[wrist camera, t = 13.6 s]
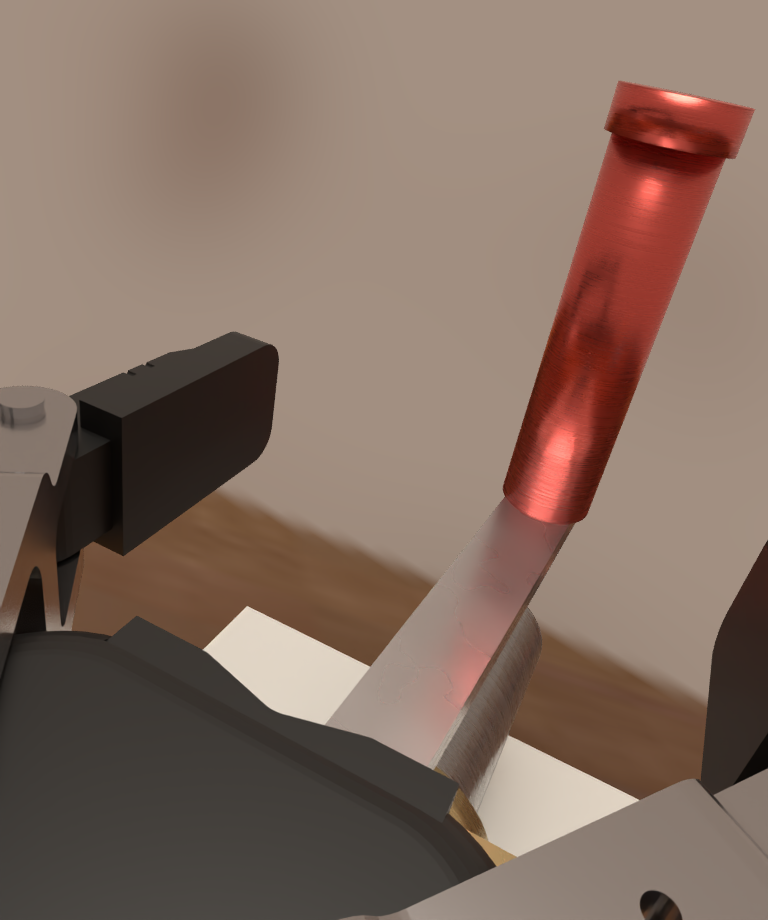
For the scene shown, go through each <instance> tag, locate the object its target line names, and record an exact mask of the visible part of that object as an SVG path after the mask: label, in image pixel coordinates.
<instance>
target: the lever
mask: <svg viewBox="0 0 768 920" xmlns="http://www.w3.org/2000/svg"><path fill="white" fill-rule="evenodd" d="M754 111H755V109H753V108H749V107H745V106H741V105H737V104H732V103H728V102H723V101H719V100H714V99H710V98H705V97H700V96H695V95H691V94H686V93H681V92H676V91H672V90H667V89H662V88H657V87H651V86H646V85H641V84H636V83H630V82H625V81H618V84H617V87H616V91H615V94H614V97H613V101H612V104H611V107H610V111H609V114H608V117H607V120H606V124H605V127H604V129H605V130H607V131H609V132H612V134H611V137H610V141H609V144H608V147H607V150H606V154H605V157H604V160H603V163H602V166H601V170H600V173H599V176H598V179H597V183H596V186H595V189H594V192H593V196H592V199H591V202H590V205H589V209H588V212H587V215H586V218H585V222H584V225H583V228H582V231H581V234H580V238H579V241H578V245H577V247H576V251H575V254H574V257H573V260H572V264H571V267H570V270H569V273H568V277H567V280H566V283H565V287H564V290H563V293H562V296H561V300H560V303H559V306H558V309H557V312H556V316H555V319H554V322H553V326H552V329H551V332H550V335H549V339H548V341H547V345H546V348H545V351H544V354H543V358H542V361H541V364H540V367H539V371H538V374H537V377H536V380H535V384H534V387H533V390H532V393H531V397H530V400H529V403H528V406H527V410H526V413H525V416H524V419H523V423H522V426H521V429H520V432H519V436H518V439H517V442H516V445H515V448H514V452H513V455H512V458H511V462H510V465H509V468H508V472H507V475H506V478H505V481H504V484H503V492H504V495H505V497H504V499H503V500H502V501H501V502H500V504H499V505H498V506H497V507H496V509H495V510H494V511H493V513H492V514H491V515H490V516H489V518H488V519H487V520H486V521H485V523H484V524H483V525H482V526H481V528H480V529H479V530H478V531H477V533H476V534H475V535H474V537H473V538H472V539H471V541H470V542H469V543H468V544H467V545H466V547H465V548H464V549H463V550H462V552H461V553H460V555H459V556H458V557H457V558H456V560H455V561H454V562H453V563H452V564H451V566H450V567H449V568H448V569H447V571H446V572H445V573H444V574H443V576H442V577H441V578H440V580H439V581H438V582H437V583H436V585H435V586H434V587H433V588H432V590H431V591H430V592H429V593H428V595H427V596H426V597H425V599H424V600H423V601H422V602H421V604H420V605H419V606H418V607H417V609H416V610H415V611H414V612H413V614H412V615H411V616H410V618H409V619H408V620H407V621H406V623H405V624H404V625H403V626H402V628H401V629H400V630H399V631H398V633H397V634H396V635H395V636H394V638H393V639H392V640H391V642H390V643H389V644H388V645H387V647H386V648H385V649H384V650H383V652H382V653H381V654H380V655H379V657H378V658H377V659H376V661H375V662H374V663H373V664H372V666H371V667H370V668H369V669H368V671H367V672H366V673H365V674H364V676H363V677H362V678H361V680H360V681H359V682H358V683H357V685H356V686H355V687H354V688H353V690H352V691H351V692H350V693H349V695H348V696H347V697H346V698H345V700H344V701H343V702H342V704H341V705H340V706H339V707H338V709H337V710H336V711H335V712H334V714H333V715H332V716H331V717H330V719H329V720H328V721H327V723H326V724H325V725H326V726H329V727H333V728H337V729H341V730H344V731H348V732H352V733H355V734H359V735H363V736H367V737H370V738H373V739H375V740H377V741H378V742H380V743H382V744H384V745H386V746H388V747H390V748H392V749H394V750H396V751H398V752H400V753H402V754H403V755H405V756H407V757H409V758H411V759H413V760H415V761H417V762H419V763H421V764H423V765H425V766H427V767H428V768H430V769H432V770H434V769H435V767H436V765H437V764H438V762H439V760H440V758H441V757H442V755H443V753H444V751H445V750H446V748H447V746H448V744H449V743H450V741H451V739H452V737H453V736H454V734H455V732H456V730H457V729H458V727H459V725H460V723H461V722H462V720H463V718H464V717H465V715H466V713H467V711H468V710H469V708H470V706H471V704H472V703H473V701H474V699H475V697H476V696H477V694H478V692H479V690H480V689H481V687H482V685H483V683H484V682H485V680H486V678H487V676H488V675H489V673H490V671H491V669H492V668H493V666H494V664H495V662H496V661H497V659H498V657H499V655H500V654H501V652H502V650H503V649H504V647H505V645H506V643H507V642H508V640H509V638H510V636H511V635H512V633H513V631H514V629H515V628H516V626H517V624H518V622H519V621H520V619H521V617H522V615H523V614H524V612H525V610H526V608H527V607H528V605H529V603H530V601H531V599H532V598H533V596H534V594H535V593H536V591H537V589H538V587H539V586H540V584H541V582H542V581H543V579H544V577H545V575H546V574H547V572H548V570H549V568H550V567H551V565H552V563H553V561H554V560H555V558H556V556H557V554H558V553H559V551H560V549H561V547H562V545H563V544H564V542H565V540H566V538H567V537H568V535H569V533H570V532H571V530H572V528H573V526H574V525H575V523H576V522H579V521H581V520H583V519H584V518H585V517H586V516H587V514H588V511H589V508H590V506H591V503H592V501H593V498H594V495H595V493H596V490H597V488H598V485H599V482H600V480H601V478H602V475H603V472H604V470H605V467H606V464H607V462H608V460H609V457H610V454H611V452H612V449H613V446H614V444H615V441H616V439H617V436H618V434H619V431H620V429H621V426H622V424H623V421H624V418H625V416H626V413H627V411H628V408H629V405H630V403H631V400H632V398H633V395H634V393H635V390H636V388H637V385H638V382H639V380H640V377H641V374H642V372H643V369H644V367H645V364H646V362H647V359H648V357H649V354H650V352H651V349H652V346H653V344H654V341H655V339H656V336H657V333H658V331H659V328H660V325H661V323H662V321H663V318H664V315H665V313H666V310H667V308H668V305H669V303H670V300H671V298H672V295H673V292H674V290H675V287H676V285H677V282H678V280H679V277H680V274H681V272H682V269H683V266H684V264H685V261H686V259H687V256H688V254H689V251H690V249H691V246H692V244H693V241H694V238H695V236H696V233H697V231H698V228H699V225H700V223H701V220H702V218H703V215H704V213H705V210H706V207H707V205H708V202H709V200H710V197H711V195H712V192H713V190H714V187H715V184H716V182H717V179H718V177H719V174H720V171H721V169H722V166H723V164H724V161H725V159H726V158H728V159H735V158H736V156H737V154H738V151H739V148H740V146H741V143H742V141H743V138H744V136H745V133H746V131H747V128H748V125H749V123H750V121H751V118H752V115H753V113H754Z"/></svg>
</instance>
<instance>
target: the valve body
mask: <svg viewBox="0 0 768 920" xmlns="http://www.w3.org/2000/svg"><path fill="white" fill-rule="evenodd" d="M541 649H542V637H541V632H540V629H539V626H538V623H537V621H536V619H535V617H534V615H533V614H532V612H531V611H530V610H529V608H528V607H527V608H526V610H525V612H524V614H523V615H522V617H521V619H520V621H519V622H518V624H517V626H516V628H515V629H514V631H513V633H512V635H511V636H510V638H509V640H508V642H507V643H506V645H505V647H504V649H503V650H502V652H501V654H500V655H499V657H498V659H497V661H496V662H495V664H494V666H493V668H492V669H491V671H490V673H489V675H488V676H487V678H486V680H485V682H484V683H483V685H482V687H481V689H480V690H479V692H478V694H477V696H476V697H475V699H474V701H473V703H472V704H471V706H470V708H469V710H468V711H467V713H466V715H465V717H464V718H463V720H462V722H461V723H460V725H459V727H458V729H457V730H456V732H455V734H454V736H453V737H452V739H451V741H450V743H449V744H448V746H447V748H446V750H445V751H444V753H443V755H442V757H441V758H440V760H439V762H438V764H437V765H436V767H435V769H434V771H436V772H438V773H440V774H442V775H444V776H446V777H448V778H450V779H452V780H453V781H455V782H457V783H459V784H460V785H459V787H458V790H457V793H456V796H455V798H454V801H453V804H452V807H451V809H450V812H449V814H450V815H451V816H452V817H453V818H454V819H455V820H456V821H458V822H459V823H460V824H461V825H462V826H463V827H464V828H465V829H466V830H467V831H468V832H469V833H470V834H471V835H472V836H473V837H474V839H475V840H476V841H477V842H478V843H479V844H480V845H481V846H482V847H483V849H484V850H485V851H486V853H487V854H488V855H489V857H490V858H491V859H492V861H493V862H494V864H495V865H496V866H499V865H501V864H503V863H505V862H508V861H510V860H512V859H514V858H516V856H514V855H513V854H511V853H509V852H507V851H505V850H503V849H502V848H500V847H498V846H496V845H494V844H492V843H490V842H489V841H488V838H487V834H486V831H485V829H484V826H483V824H482V822H481V820H480V818H479V816H478V814H477V812H478V810H479V807H480V805H481V802H482V800H483V797H484V795H485V793H486V790H487V788H488V785H489V783H490V780H491V778H492V775H493V773H494V770H495V767H496V765H497V762H498V760H499V757H500V755H501V752H502V750H503V747H504V745H505V742H506V740H507V737H508V735H509V732H510V729H511V726H512V724H513V721H514V719H515V716H516V714H517V711H518V709H519V706H520V704H521V702H522V699H523V697H524V694H525V692H526V689H527V687H528V684H529V682H530V679H531V677H532V674H533V672H534V670H535V667H536V665H537V662H538V660H539V657H540V654H541Z"/></svg>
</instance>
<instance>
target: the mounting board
mask: <svg viewBox="0 0 768 920" xmlns="http://www.w3.org/2000/svg"><path fill="white" fill-rule="evenodd" d="M203 650H204V651H205V652H207V653H209V654H210V655H211V656H212V657H213V658H214V659H215V660H216V661H218V662H219V663H220V664H221V665H222V666H223V667H224V668H225V669H226V670H227V671H229V672H230V673H231V674H232V675H233V676H234V677H235V678H236V679H237V680H239V681H240V682H241V683H242V684H243V685H244V686H245V687H246V688H247V689H249V690H250V691H251V692H252V693H253V694H254V695H255V696H256V697H257V698H259V699H260V700H261V701H262V702H263V703H264V704H265V705H266V706H268V707H269V708H270V709H272V710H274V711H276V712H279V713H282V714H285V715H289V716H292V717H296V718H300V719H303V720H307V721H311V722H315V723H318V724H322V725H325V724H326V723H327V721H328V720H329V719H330V717H331V716H332V715H333V714H334V712H335V711H336V710H337V709H338V707H339V706H340V705H341V704H342V702H343V701H344V700H345V698H346V697H347V696H348V695H349V693H350V692H351V691H352V690H353V688H354V687H355V686H356V685H357V683H358V682H359V681H360V680H361V678H362V677H363V676H364V674H365V673H366V672H367V671H368V669H369V668H370V667H369V666H367V665H365V664H363V663H361V662H359V661H357V660H355V659H353V658H351V657H349V656H347V655H345V654H343V653H341V652H339V651H337V650H335V649H333V648H331V647H329V646H327V645H325V644H323V643H321V642H319V641H317V640H315V639H313V638H310V637H308V636H306V635H304V634H302V633H300V632H298V631H296V630H294V629H292V628H290V627H288V626H286V625H284V624H282V623H280V622H278V621H276V620H274V619H272V618H270V617H268V616H266V615H264V614H262V613H260V612H258V611H256V610H254V609H252V608H250V607H248V606H247V607H246V608H245V609H244V610H243V611H242V612H241V613H240V614H239V615H238V616H237V617H236V618H235V619H234V620H233V621H232V622H231V623H230V624H229V625H228V626H227V627H226V628H225V629H224V630H223V631H222V632H221V633H220V634H219V635H218V636H217V637H215V638H214V639H213V640H212V641H211V642H210V643H209V644H208V645H207V646H206V647H205V648H204V649H203ZM637 801H639V800H638V799H636V798H634V797H632V796H630V795H628V794H626V793H624V792H622V791H620V790H618V789H616V788H614V787H612V786H610V785H608V784H606V783H604V782H602V781H600V780H598V779H596V778H594V777H592V776H590V775H588V774H586V773H584V772H581V771H579V770H577V769H575V768H573V767H571V766H569V765H567V764H565V763H563V762H561V761H559V760H557V759H555V758H553V757H551V756H549V755H547V754H545V753H543V752H541V751H539V750H537V749H535V748H533V747H531V746H529V745H527V744H525V743H523V742H521V741H519V740H517V739H515V738H513V737H511V736H509V735H508V737H507V740H506V742H505V745H504V747H503V750H502V752H501V755H500V757H499V760H498V762H497V765H496V767H495V770H494V773H493V775H492V778H491V780H490V783H489V785H488V788H487V790H486V793H485V795H484V797H483V800H482V802H481V805H480V807H479V810H478V812H477V814H478V816H479V818H480V820H481V822H482V824H483V826H484V829H485V831H486V834H487V838H488V841H489V842H490V843H492V844H494V845H496V846H498V847H500V848H502V849H503V850H505V851H507V852H509V853H511V854H513V855H514V856H516V857H518V856H521V855H523V854H525V853H527V852H529V851H531V850H534V849H536V848H538V847H540V846H542V845H544V844H547V843H549V842H551V841H553V840H555V839H557V838H559V837H562V836H564V835H566V834H568V833H570V832H572V831H575V830H577V829H579V828H581V827H583V826H585V825H588V824H590V823H592V822H594V821H596V820H598V819H601V818H603V817H605V816H607V815H609V814H611V813H613V812H616V811H618V810H620V809H622V808H624V807H626V806H629V805H631V804H633V803H635V802H637Z"/></svg>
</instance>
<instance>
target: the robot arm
mask: <svg viewBox="0 0 768 920" xmlns="http://www.w3.org/2000/svg"><path fill="white" fill-rule="evenodd" d="M278 364H279V357H278V352H277V349H276V348H275V347H274V346H273V345H271V344H268V343H265V342H262V341H260V340H257V339H254V338H251V337H249V336H246V335H243V334H240V333H238V332H230V333H228V334H225V335H223V336H221V337H219V338H217V339H214V340H212V341H210V342H207V343H205V344H203V345H201V346H198V347H196V348H194V349H188V350H182V351H176V352H170V353H167V354H165V355H163V356H161V357H158V358H156V359H154V360H151V361H149V362H147V363H146V365H145V366H144V365H140V366H138V367H135V368H133V369H130V370H128V373H127V374H126V373H121V374H119V375H117V376H114V377H112V378H110V379H107V380H105V381H103V382H101V383H98V384H96V385H94V386H91V387H89V388H87V389H85V390H82V391H80V392H78V393H75V394H73V395H71V396H67V395H66V394H64V393H62V392H59V391H56V390H53V389H49V388H44V387H34V386H12V387H4V388H0V920H768V541H767V542H766V544H765V546H764V547H763V549H762V551H761V553H760V554H759V556H758V558H757V560H756V562H755V563H754V565H753V567H752V569H751V571H750V573H749V574H748V576H747V578H746V580H745V581H744V583H743V585H742V587H741V589H740V591H739V592H738V594H737V596H736V598H735V599H734V601H733V603H732V605H731V607H730V608H729V610H728V612H727V614H726V616H725V618H724V620H723V622H722V625H721V627H720V630H719V632H718V635H717V638H716V641H715V645H714V650H713V654H712V665H711V675H710V686H709V697H708V707H707V718H706V729H705V740H704V751H703V762H702V772H701V781H700V780H698V779H688V780H684V781H681V782H679V783H676V784H674V785H672V786H670V787H668V788H665V789H663V790H661V791H659V792H657V793H655V794H652V795H650V796H648V797H646V798H644V799H642V800H639V801H637V802H635V803H633V804H631V805H629V806H626V807H624V808H622V809H620V810H618V811H616V812H613V813H611V814H609V815H607V816H605V817H603V818H601V819H598V820H596V821H594V822H592V823H590V824H588V825H585V826H583V827H581V828H579V829H577V830H575V831H572V832H570V833H568V834H566V835H564V836H562V837H559V838H557V839H555V840H553V841H551V842H549V843H547V844H544V845H542V846H540V847H538V848H536V849H534V850H531V851H529V852H527V853H525V854H523V855H521V856H518V857H516V858H514V859H512V860H510V861H508V862H505V863H503V864H501V865H499V866H496V865H495V864H494V862H493V861H492V859H491V858H490V857H489V855H488V854H487V853H486V851H485V850H484V849H483V847H482V846H481V845H480V844H479V843H478V842H477V841H476V840H475V839H474V837H473V836H472V835H471V834H470V833H469V832H468V831H467V830H466V829H465V828H464V827H463V826H462V825H461V824H460V823H459V822H458V821H456V820H455V819H454V818H453V817H452V816H451V815H450V814H449V812H450V809H451V807H452V804H453V801H454V798H455V796H456V793H457V790H458V787H459V785H460V784H459V783H457V782H455V781H453V780H452V779H450V778H448V777H446V776H444V775H442V774H440V773H438V772H436V771H434V770H432V769H430V768H428V767H427V766H425V765H423V764H421V763H419V762H417V761H415V760H413V759H411V758H409V757H407V756H405V755H403V754H402V753H400V752H398V751H396V750H394V749H392V748H390V747H388V746H386V745H384V744H382V743H380V742H378V741H377V740H375V739H373V738H370V737H367V736H363V735H359V734H355V733H352V732H348V731H344V730H341V729H337V728H333V727H329V726H326V725H322V724H318V723H315V722H311V721H307V720H303V719H300V718H296V717H292V716H289V715H285V714H282V713H279V712H276V711H274V710H272V709H270V708H269V707H268V706H266V705H265V704H264V703H263V702H262V701H261V700H260V699H259V698H257V697H256V696H255V695H254V694H253V693H252V692H251V691H250V690H249V689H247V688H246V687H245V686H244V685H243V684H242V683H241V682H240V681H239V680H237V679H236V678H235V677H234V676H233V675H232V674H231V673H230V672H229V671H227V670H226V669H225V668H224V667H223V666H222V665H221V664H220V663H219V662H218V661H216V660H215V659H214V658H213V657H212V656H211V655H210V654H209V653H207V652H205V651H204V650H202V649H200V648H198V647H196V646H194V645H192V644H190V643H188V642H186V641H184V640H182V639H180V638H179V637H177V636H175V635H173V634H171V633H169V632H167V631H165V630H163V629H161V628H159V627H157V626H155V625H154V624H152V623H150V622H148V621H146V620H144V619H142V618H140V617H138V616H136V617H135V618H134V619H132V620H131V621H130V622H129V623H128V624H126V625H125V626H124V627H123V628H122V629H120V630H119V631H118V632H117V633H116V634H114V635H113V636H108V635H104V634H97V633H90V632H82V631H71V628H72V623H73V618H74V613H75V608H76V603H77V598H78V593H79V588H80V583H81V578H82V573H83V568H84V547H85V546H87V545H88V544H90V543H91V542H93V541H94V542H96V543H98V544H100V545H102V546H104V547H106V548H108V549H110V550H112V551H114V552H116V553H118V554H120V555H122V556H124V555H126V554H127V553H128V552H130V551H131V550H133V549H134V548H135V547H137V546H138V545H140V544H141V543H142V542H144V541H145V540H146V539H148V538H149V537H151V536H152V535H153V534H155V533H156V532H158V531H159V530H160V529H162V528H163V527H164V526H166V525H167V524H169V523H170V522H171V521H173V520H174V519H176V518H177V517H178V516H180V515H181V514H183V513H184V512H185V511H187V510H188V509H189V508H191V507H192V506H194V505H195V504H196V503H198V502H199V501H201V500H202V499H203V498H205V497H206V496H207V495H209V494H210V493H212V492H213V491H214V490H216V489H217V488H219V487H220V486H221V485H223V484H224V483H225V482H227V481H228V480H230V479H231V478H232V477H234V476H235V475H237V474H238V473H239V472H241V471H242V470H243V469H245V468H246V467H248V466H249V465H250V464H251V463H253V462H254V461H255V460H257V459H258V458H259V456H260V455H261V454H262V452H263V450H264V449H265V447H266V445H267V443H268V440H269V437H270V434H271V429H272V420H273V411H274V401H275V393H276V383H277V374H278Z"/></svg>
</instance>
